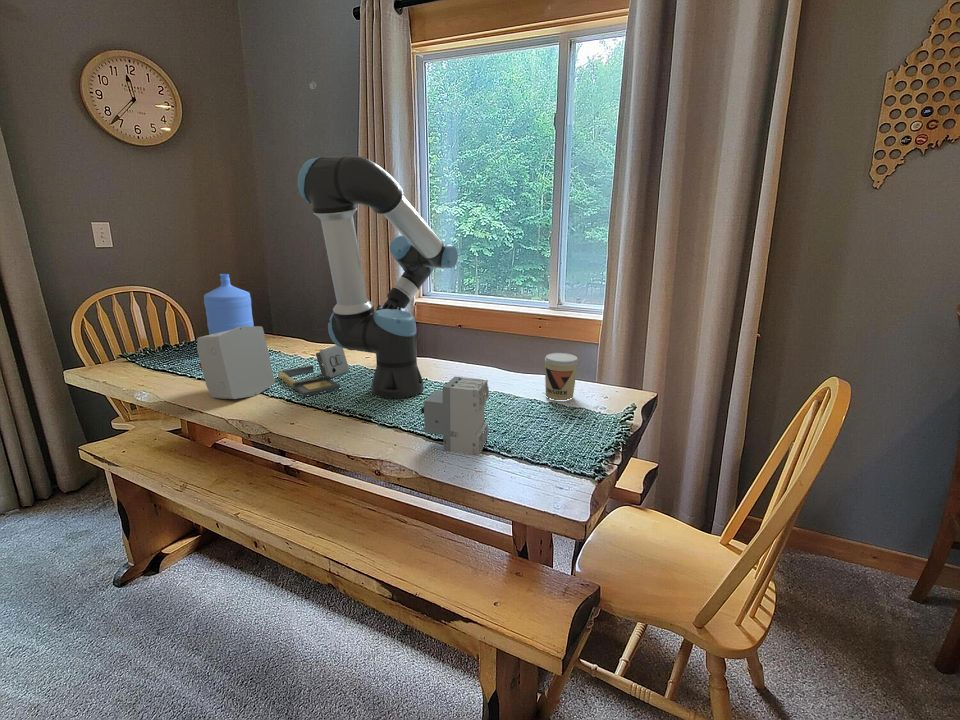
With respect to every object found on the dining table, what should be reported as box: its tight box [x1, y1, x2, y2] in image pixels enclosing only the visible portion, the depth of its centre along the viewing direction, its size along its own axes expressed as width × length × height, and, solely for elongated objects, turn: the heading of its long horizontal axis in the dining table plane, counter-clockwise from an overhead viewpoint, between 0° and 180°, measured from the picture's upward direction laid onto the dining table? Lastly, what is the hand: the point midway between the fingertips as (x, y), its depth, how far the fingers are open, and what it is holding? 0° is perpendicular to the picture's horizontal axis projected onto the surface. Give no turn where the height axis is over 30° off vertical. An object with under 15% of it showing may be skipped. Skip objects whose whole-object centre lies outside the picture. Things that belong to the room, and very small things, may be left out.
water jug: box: [203, 273, 255, 335], centre depth 187 cm, size 16×16×28 cm
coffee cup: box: [544, 352, 579, 400], centre depth 143 cm, size 9×9×12 cm
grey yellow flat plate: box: [277, 364, 342, 397], centre depth 154 cm, size 22×11×2 cm, turn 39°
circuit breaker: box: [420, 376, 490, 456], centre depth 113 cm, size 8×14×15 cm, turn 73°
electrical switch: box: [315, 344, 350, 379], centre depth 162 cm, size 9×5×9 cm, turn 152°
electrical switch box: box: [196, 325, 276, 400], centre depth 144 cm, size 15×15×20 cm
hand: (360, 348), depth 167 cm, fingers closed
